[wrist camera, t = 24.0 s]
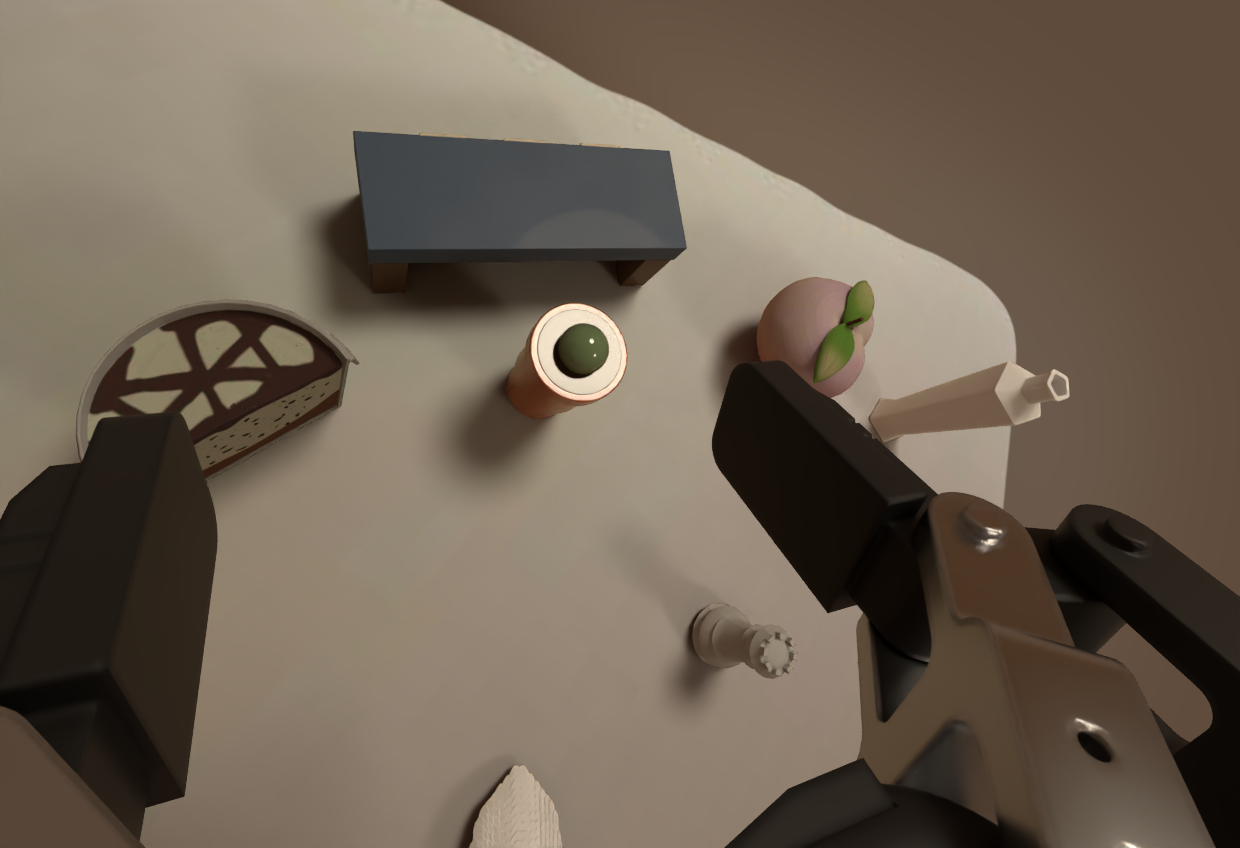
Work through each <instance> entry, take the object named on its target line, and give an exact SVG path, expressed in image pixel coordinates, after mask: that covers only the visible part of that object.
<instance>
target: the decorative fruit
mask: <svg viewBox="0 0 1240 848" xmlns="http://www.w3.org/2000/svg"><path fill="white" fill-rule="evenodd" d="M873 308H874V296H873V292H872V289H871V287H870V285H869V284H868V282H867V281H860V282H858V283H857V284H856V285H855V286H854V287H851V286H849V285H847V284H845V283H842V282H839V281H835V280H831V279H825V278H818V277H814V278H806V279H802V280H799V281H796V282H794V283H792V284H790V285H789V286H787V287H786V288H784V289H783V290H782V291H780V292H779V293H778V294H777V295H776V296H775V297H774V298H773V299H772V300H771V301H770V302H769V304H768V305H767V307H766V308H765V310H764V312H763V314H762V317H761V320H760V322H759V326H758V331H757V348H758V353H759V356H760V359H761V361H772V360H781V361H783V362H785V363H786V364H788V365H789V366H790V367H791V368H792V369H793V370H794V371H795V372H796V373H797V374H798V375H799V376H801V377H802V378H803V379H804V380H805V381H806V382H807V383H808V384H809V385H810V386H811V387H812V388H814V389H815V390H817V391H819V392H820V393H822V394H824V395H826V396H827V397H829V398H832V397H834V396H837V395H839V394H842V393H843V392H844V391H846V390H847V389H848V388H850V387H851V385H852V384H853V383H854V382H855V381H856V379H857V377H858V376H859V374H860V372H861V370H862V368H863V364H864V358H865V353H864V346H865V345H866V343H867V342H868V341H869V339H870V337H871V335H872V332H873V327H874V320H873V314H872V313H873Z"/></svg>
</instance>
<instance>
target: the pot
mask: <svg viewBox="0 0 1240 848" xmlns="http://www.w3.org/2000/svg"><path fill="white" fill-rule="evenodd" d="M626 365H627V349H626V344H625V341H624V338H623V336H622V333H621V331H620V330H619V328H618V327H617V325H616V324H615V323H614V321H613V320H612V319H611V318H610V317H609V316H607V315H606V314H605V313H603V312H602V311H600V310H599V309H597V308H595V307H592V306H589V305H586V304H581V303H567V304H562V305H559V306H556V307H554V308H552V309H550V310H549V311H548V312H546V313H545V314H544V315H543V316H542V317H541V318H540V319H539V320H538V322H537V323H536V324H535V326H534V327H533V328H532V330H531V331H530V333H529V335H528V338H527V341H526V345H525V347H524V349H523V350H522V351H521V352H520V354H519V356H518V357H517V360H516V363H515V366H514V368H513V369H512V370H511V372H510V374H509V376H508V379H507V394H508V397H509V400H510V402H511V403H512V405H513V406H514V407H515V409H516V410H517V411H519V412H520V413H521V414H523V415H525V416H527V417H530V418H534V419H544V418H548V417H551V416H553V415H554V414H557V413H563V412H567V411H569V410H571V409H573V408H574V407H576V406H585V405H588V404H592V403H594V402H596V401H598V400H600V399H602V398H603V397H605V396H607V395H608V394H610V393H611V392H612V391H613V390H614V389H615V388H616V387H617V386H618V384H619V383H620V382H621V380H622V378H623V376H624V373H625V370H626Z"/></svg>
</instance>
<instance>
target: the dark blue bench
mask: <svg viewBox="0 0 1240 848" xmlns="http://www.w3.org/2000/svg"><path fill="white" fill-rule="evenodd" d="M353 136H354V152H355V160H356V167H357V175H358V183H359V191H360V199H361V207H362V215H363V223H364V231H365V239H366V247H367V255H368V263H369V266H370V274H371V282H372V290H373V293H397V292H405V286H406V277H407V269H408V263H450V262H532V261H614V260H616V266H617V272H618V278H619V284H620V286H633V285H644V284H645V283H646V282H647V281H648V280H649V279H650V278H651V277H653V276H654V275H655V274H656V273H657V272H658V271H659V270H660V269H661V268H663V267H664V266H665V265H666V264H667V263H668V262H669V261H670V260H674V259H675V258H676V257H677V256H679V255H680V254H681V253H682V252H683V251H684V250H685V249H686V248H687V247H686V241H685V236H684V230H683V225H682V219H681V213H680V208H679V202H678V197H677V191H676V185H675V180H674V174H673V169H672V163H671V157H670V152H669V151H661V150H645V149H630V148H620V146H616V145H600V144H585V143H580V145H566V144H550V143H548V141H538V140H523V139H507V138H504V140H487V139H471V138H468V136H461V135H445V134H430V133H419V135H408V134H392V133H376V132H360V131H353Z"/></svg>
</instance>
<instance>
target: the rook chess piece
mask: <svg viewBox="0 0 1240 848" xmlns="http://www.w3.org/2000/svg"><path fill="white" fill-rule="evenodd" d="M692 639H693V644H694V649H695V651H696V652H697V654H698V655H699V657H700V659H702V660H703V661H704V662H706V663H707V664H709V665H712V666H716V667H722V668H730V667H733V666H736V665H739V664H740V663H742V662H745V664H746V665H747V666H749V667H750V668H752V669H755V670H756V672H757V673H759V674H760V675H762V676H763V677H765V678H772V679H773V678H776V677H779V676H782V674H783V673H784V672H786V673H789V672H790V671H791V670H792V669H793V667H792V666H791V665H790V663H791V661H792V659H793V660H796V661H797V655H798V653H797V652H794V651H793V646H795V645H796V644H795V642H794V641H793V639H792V638H790V637H789V635H788V633H787V632H786V631H785V630H784V629H783V628H781V627H780V626H777V625H767V626H762V625H755V626H753V625H751V624H750V622H749V621H748V619H747V618H746V616H745V615H744V614H743V613H742V612H740V611H739V610H738V609H736V608H735V607H731V606H729V605H726V604H721V603H717V604H713V605H710V606H708V607H706V608H705V609H704V610H703V611H702V612H701V613H700V614H699V616H698V617H697V619H696V621H695V623H694V627H693V634H692Z"/></svg>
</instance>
